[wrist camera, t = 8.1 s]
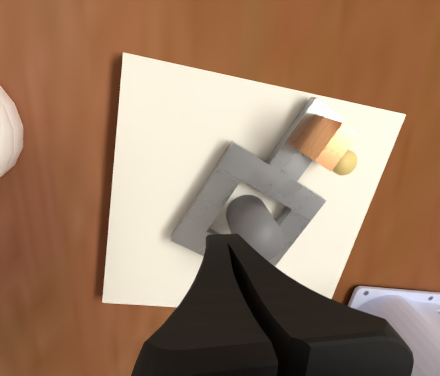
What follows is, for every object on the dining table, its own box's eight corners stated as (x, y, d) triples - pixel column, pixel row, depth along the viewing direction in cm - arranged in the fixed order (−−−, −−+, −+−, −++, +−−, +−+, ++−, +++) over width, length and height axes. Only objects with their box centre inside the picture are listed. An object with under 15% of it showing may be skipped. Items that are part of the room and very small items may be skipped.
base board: (396, 112, 22) (455, 123, 17) (319, 307, 28) (348, 355, 23) (125, 53, 18) (108, 47, 13) (105, 293, 24) (87, 346, 19)
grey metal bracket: (259, 276, 24) (275, 317, 20) (170, 234, 21) (169, 271, 17) (366, 138, 21) (410, 154, 17) (276, 70, 18) (303, 70, 14)
